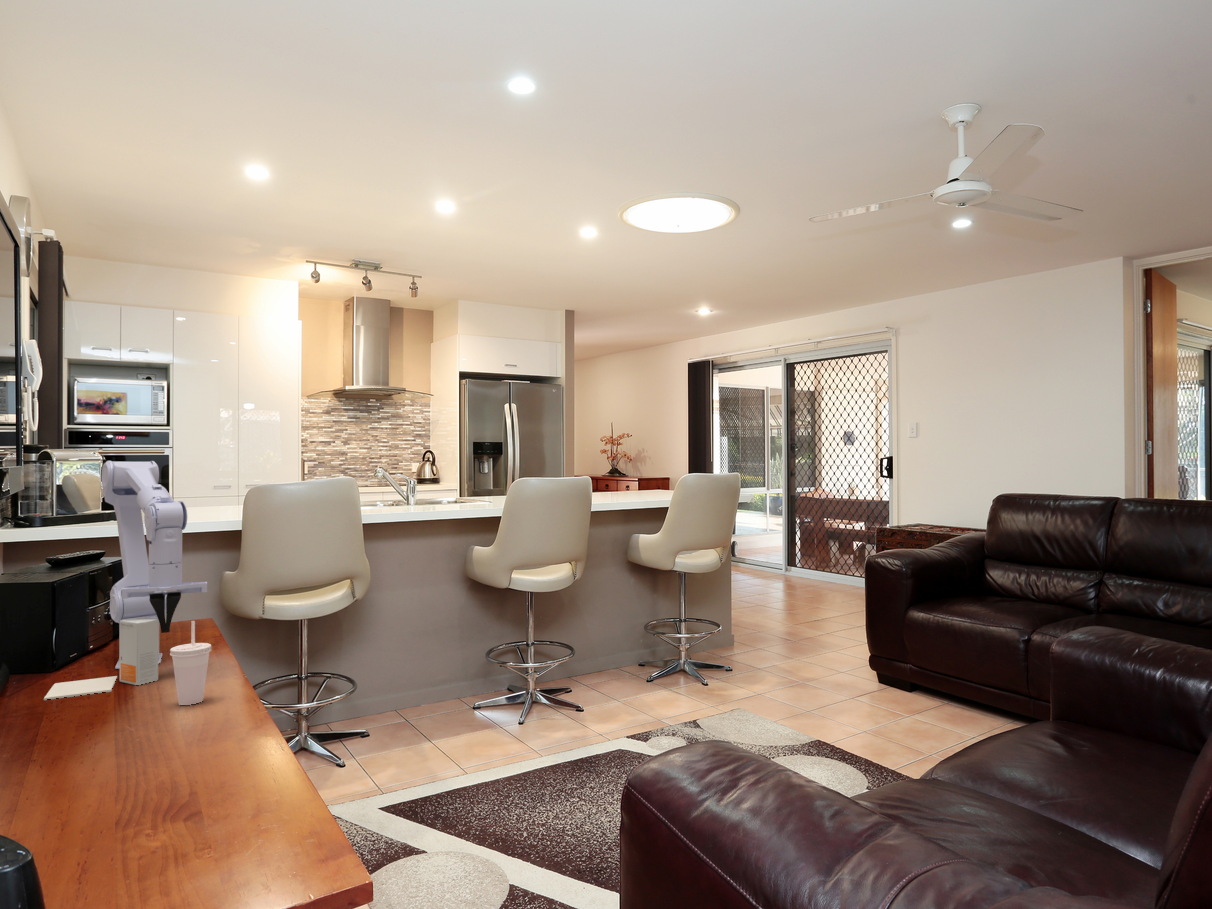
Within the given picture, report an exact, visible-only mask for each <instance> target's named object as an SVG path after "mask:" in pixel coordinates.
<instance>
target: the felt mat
mask: <svg viewBox="0 0 1212 909" xmlns="http://www.w3.org/2000/svg"><path fill="white" fill-rule="evenodd" d="M116 679H118V675H114V676H105V677H97V678H89V679H80V680H73V681H64V682H62V681H61V682H55V683H54V684H52V686H51V688H50V689H49V690H48V692H47V693H46V695H44V698H43V701H48V700H47V699H51V700H57V699H56V698H59V699H65V698H64V697H67V698H72V697H73V698H74V696H75V697H81V696H80V695H82V696H88V695H87V694H90V695H95V694H94V693H98V694H103V693H102V692H106V693H111V692H112V691H113V689H114V686H115V684H116V682H117V680H116ZM115 681H116V682H115ZM112 688H113V689H112Z"/></svg>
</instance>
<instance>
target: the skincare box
mask: <svg viewBox="0 0 1212 909" xmlns="http://www.w3.org/2000/svg"><path fill="white" fill-rule="evenodd" d="M157 680H158V681H159V664H158V619H152V618H144V617H137V618H131V619H125V620H120V669H119V682H120V683H124V684H129V685H133V686H136V685H139V686H141V684H143V685H146V684H145V683H147V684H150V683H149V682H151V683H153V681H155V682H158V681H157Z"/></svg>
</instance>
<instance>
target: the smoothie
mask: <svg viewBox="0 0 1212 909" xmlns="http://www.w3.org/2000/svg"><path fill="white" fill-rule="evenodd" d="M190 623H191V632H190V633H191V634H190V636H191V637H190V638H191V640H190V641H191V642H190V643H185V644H180V645H175V646H173V647H171V648H170V649H169V652H170V653H169V656H170V657H172V666H173V671H174V672H173V673H174V678H175V679H174V680H175V687H176V695H177V701H178V702H177V703H178V706H180V705H190V706H192V705H191V704H196V703H199V702H201V703H203V702H204V695H205V689H206V683H207V682H206V680H207V674H208V666H209V660H210V659H209V658H210V652H212V651H213V650H212V644H211V643H208V642H196V621H195V620H191V622H190ZM202 701H203V702H202ZM199 704H200V703H199ZM196 705H197V704H196Z"/></svg>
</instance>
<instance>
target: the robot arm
mask: <svg viewBox="0 0 1212 909" xmlns="http://www.w3.org/2000/svg"><path fill="white" fill-rule="evenodd" d="M159 480H160V468H159V465H158V464H157V463H156V462H155V461H154V460H150V461H112V460H107V461H106V462H104V464H103V465H102V469H101V487H102V488H101V489H102V493H103V497H104V502H105V503H107V504H109V505H111V506H113V509H114V512H115V517H116V524H117V531H118V539H119V540H118V541H119V548H120V556H121V565H122V573H123V577H122V578H121V579H120V580H118V581H117V582H115V583H114V584H113V586H112V587H111V590H110V591H109V596H110V599H109V613H110V617H111V620H112V621H114V623H118V624H119V625H118V627H119V628H118V630H119V633H118V634H119V636H118V638H119V644H118V646H119V650H118V652H119V653H118V655H119V658H118V661H117V663H116V665H115V668H114V669H116V670H120V620H125V619H131V618H137V617H144V618H152V619H158V665H160V664H161V662H162V659H161V658H163V653H162V652H160V633H161V634H167V633H170V631H171V623H172V620H173V617H174V614H175V611H176V609H177V607H178V604H179V602H180V600H181V598H182V595H183V594H193V593H194V594H195V593H196V594H197V593H202V594H203V593H208V581H195V582H194V581H192V582H183V531H184V530H185V529H186V527H187V524H188V509H187V506H186V503H185V502H184V501H182V500H178V501H177V500H176V501H175V500H174V499H173V497H172V495H171V494H170V493H169V492H168V490H167V488H166V487H165V486H163V485H162V484H159ZM142 512H143V513H142ZM142 514H144V517H143V516H142ZM143 519H144V520H143ZM144 527H145V529H144ZM145 531H146V532H145ZM145 533H146V537H145ZM146 541H148V552H147V545H146ZM159 663H160V664H159Z"/></svg>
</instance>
